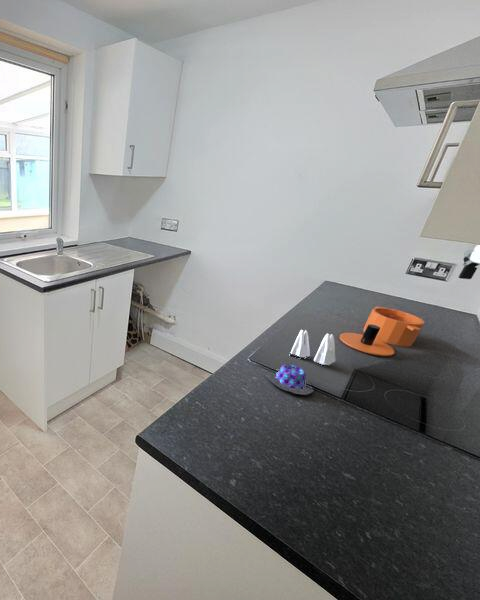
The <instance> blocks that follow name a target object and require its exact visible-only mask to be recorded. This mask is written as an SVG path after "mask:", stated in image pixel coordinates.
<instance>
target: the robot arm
mask: <svg viewBox="0 0 480 600" xmlns="http://www.w3.org/2000/svg"><path fill="white" fill-rule="evenodd" d="M462 265H463V268H462V270H461V272H460V273H459V275H458V279H463V280H472V278H473V277H474V275H475V273H476V271H477V270H478V267H477V266H480V245H477V244H476V245H475V247H474V249H468V250H465V251H464V255H463V264H462Z"/></svg>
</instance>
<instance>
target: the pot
mask: <svg viewBox="0 0 480 600" xmlns="http://www.w3.org/2000/svg"><path fill="white" fill-rule="evenodd" d="M389 316H394V317H393V318H395V319H397V320H398V321H397V320H394V319H391V318H388V317H389ZM425 323H426V322H425V320H424V319H422V318H421V317H418V316H417V315H415V314H411V313H409V312H406V311H402V310H399V309H393V308H388V307H383V306H375V307H374V308H372V309H371V311H370V313H369V315H368V318H367V320H366V322H365V325H364V327H363V329H362V330H363V331H362V332H363V333H364V332H365V330H366V328H367V326H368V325H369V324H372V325H376V326H378V327H380V330H379V332H378V334H377V336H376V338H375V339H377V340H380V341H382V342H384V343H386V344H387V345H392V346H396V347H406V348H407V347H412V346H413V344H414V343H415V341H416V340H417V337H418V336H419V334H420V332H421V331H422V330H423V329H422V328H423V327H424V325H425Z"/></svg>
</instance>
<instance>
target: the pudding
mask: <svg viewBox="0 0 480 600" xmlns="http://www.w3.org/2000/svg"><path fill="white" fill-rule="evenodd" d="M278 370H279V371H278V372H277V373H276V377H275V378H276V379H277V380H278V381H280V383H281V384H283V385H286V386H289V387H290V388H294V389H296V388H298V389H303V387H305V386H306V380H307V374H306V371H305V370H304V369H303V368H301V367H299V366H298V365H294V364H291V363H287V364H283V365H282V366H281V367H280V368H279V369H278Z"/></svg>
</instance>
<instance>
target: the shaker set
mask: <svg viewBox="0 0 480 600" xmlns="http://www.w3.org/2000/svg"><path fill="white" fill-rule="evenodd" d="M335 345H336V343H335V336H334V334H332V333H331V334H329V333H326V334H325V335H324V337H323V338H322V341H321V342H320V345H319V347H318V349H317V352H316V354H315V355H314V358H313V361H314V363H316V364H318V363H319V364H321V365H320V366H322V365H328V366H330V365H332V364H334V363H335V362H336V361H337V360H336V349H335V347H336V346H335ZM290 353H291V354H295V355H297V356H299V357H305V358H304V359H307V357H309V356H310V357H311V351H310V341H309V333H308V331H307V329H305V330H304V329H300V331H299V333H298V334H297V336H296V339H295V341H294V344H293V346H292V348H291V351H290ZM306 356H307V357H306ZM319 364H318V365H319Z"/></svg>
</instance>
